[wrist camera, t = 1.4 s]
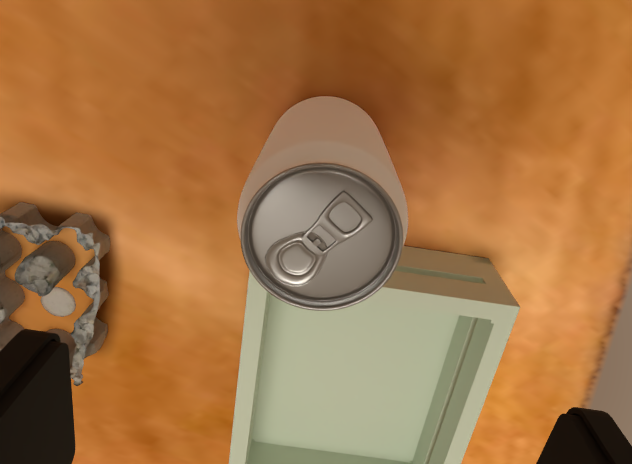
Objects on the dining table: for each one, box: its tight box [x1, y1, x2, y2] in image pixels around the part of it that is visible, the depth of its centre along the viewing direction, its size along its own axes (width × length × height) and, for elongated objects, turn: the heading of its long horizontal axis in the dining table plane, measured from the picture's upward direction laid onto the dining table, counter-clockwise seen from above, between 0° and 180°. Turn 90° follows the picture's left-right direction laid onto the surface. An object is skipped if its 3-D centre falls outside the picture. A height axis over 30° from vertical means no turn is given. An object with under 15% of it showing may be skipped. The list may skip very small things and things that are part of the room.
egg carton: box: [0, 202, 110, 386], centre depth 30 cm, size 11×8×4 cm
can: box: [237, 96, 408, 311], centre depth 22 cm, size 6×6×12 cm
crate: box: [229, 246, 520, 464], centre depth 31 cm, size 18×14×6 cm
